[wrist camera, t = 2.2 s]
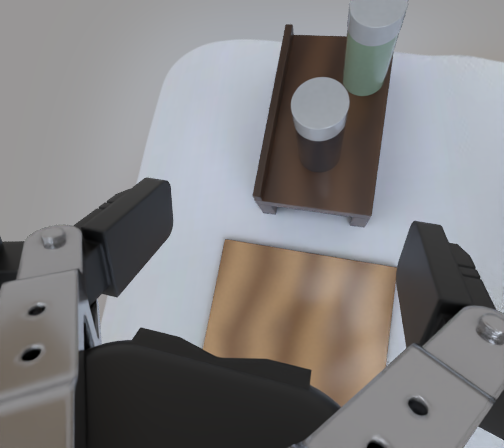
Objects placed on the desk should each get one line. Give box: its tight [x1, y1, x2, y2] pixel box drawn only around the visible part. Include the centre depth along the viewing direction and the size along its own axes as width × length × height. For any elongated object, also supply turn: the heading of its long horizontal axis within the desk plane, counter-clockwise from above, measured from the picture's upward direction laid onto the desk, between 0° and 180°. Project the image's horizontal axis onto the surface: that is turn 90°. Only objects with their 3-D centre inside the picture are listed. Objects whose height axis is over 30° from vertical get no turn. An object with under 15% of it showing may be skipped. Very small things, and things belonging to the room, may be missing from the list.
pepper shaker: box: [291, 77, 350, 173], centre depth 32 cm, size 4×4×10 cm
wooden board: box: [203, 239, 397, 407], centre depth 39 cm, size 20×16×1 cm
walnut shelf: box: [253, 25, 393, 227], centre depth 40 cm, size 12×20×8 cm, turn 170°
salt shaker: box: [342, 0, 408, 96], centre depth 33 cm, size 4×4×10 cm
